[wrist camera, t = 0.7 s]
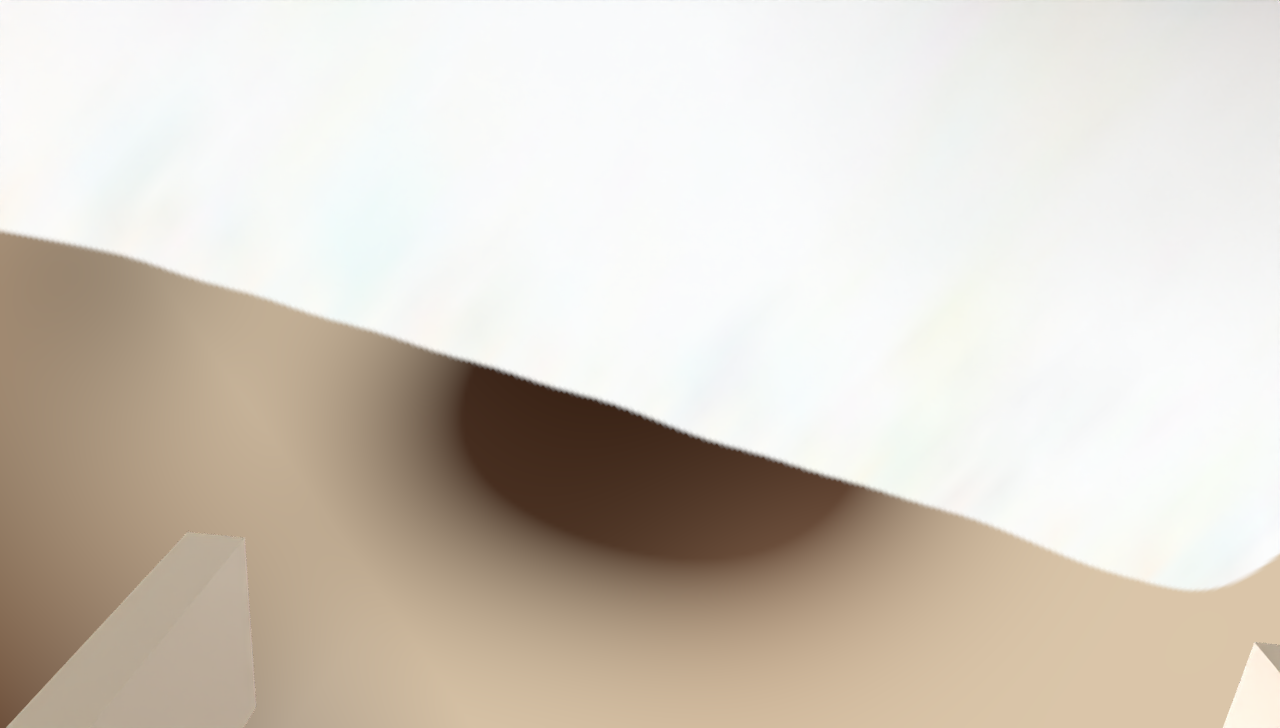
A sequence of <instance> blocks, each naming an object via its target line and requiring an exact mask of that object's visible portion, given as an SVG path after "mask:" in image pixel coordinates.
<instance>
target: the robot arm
mask: <svg viewBox="0 0 1280 728" xmlns="http://www.w3.org/2000/svg"><path fill="white" fill-rule="evenodd" d="M254 680H255V679H254V665H253V651H252V635H251V621H250V606H249V592H248V577H247V562H246V547H245V538H243V537H233V536H223V535H214V534H203V533H194V532H187V533H186V534H185V535H184V536H183V537H182V538H181V539H180V540H179V541H178V543H177V544H176V545H175V546H174V547H173V548H172V549H171V550H170V551H169V552H168V553H167V554H166V555H165V557H164V558H163V559H162V560H161V561H160V562H159V563H158V564H157V565H156V566H155V567H154V568H153V570H152V571H151V572H150V573H149V574H148V575H147V576H146V577H145V578H144V579H143V580H142V582H140V584H139V585H138V586H137V587H136V588H135V589H134V590H133V591H132V592H131V593H130V594H129V595H128V596H127V598H126V599H125V600H124V601H123V602H122V603H121V604H120V605H119V606H118V607H117V608H116V609H115V611H114V612H113V613H112V614H111V615H110V616H109V617H108V618H107V619H106V620H105V621H104V622H103V624H102V625H101V626H100V627H99V628H98V629H97V630H96V631H95V632H94V633H93V634H92V635H91V636H90V638H89V639H88V640H87V641H86V642H85V643H84V644H83V645H82V646H81V647H80V648H79V650H78V651H77V652H76V653H75V654H74V655H73V656H72V657H71V658H70V659H69V660H68V661H67V662H66V663H65V665H64V666H63V667H62V668H61V669H60V670H59V671H58V672H57V673H56V674H55V675H54V677H53V678H52V679H51V680H50V681H49V682H48V683H47V684H46V685H45V686H44V687H43V688H42V689H41V691H40V692H39V693H38V694H37V695H36V696H35V697H34V698H33V699H32V700H31V701H30V702H29V703H28V705H27V706H26V707H25V708H24V709H23V710H22V711H21V712H20V713H19V714H18V715H17V716H16V717H15V719H14V720H13V721H12V722H11V723H10V724H9V725H8V726H7V727H6V728H244V726H245V725H246V723H247V721H248V720H249V718H250V717H251V715H252V713H253V712H254V710H255V708H256V694H255V681H254ZM1223 728H1280V645H1277V644H1267V643H1257V642H1255V643H1254V645H1253V648H1252V651H1251V653H1250V656H1249V659H1248V662H1247V664H1246V667H1245V670H1244V672H1243V675H1242V678H1241V680H1240V683H1239V686H1238V689H1237V691H1236V694H1235V697H1234V700H1233V702H1232V705H1231V708H1230V711H1229V713H1228V716H1227V719H1226V721H1225V724H1224V727H1223Z"/></svg>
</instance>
